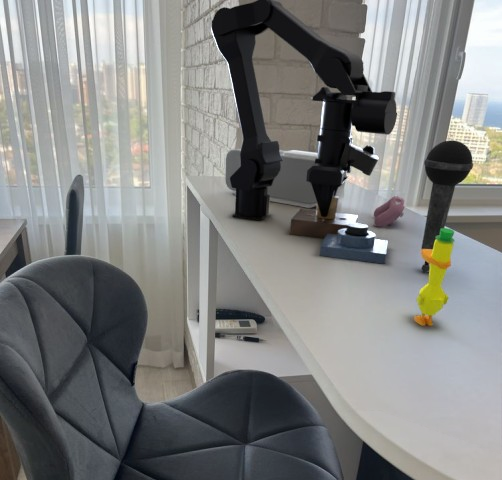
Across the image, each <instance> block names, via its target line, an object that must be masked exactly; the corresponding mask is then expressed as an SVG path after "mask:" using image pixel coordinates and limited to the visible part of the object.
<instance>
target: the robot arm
mask: <svg viewBox="0 0 502 480" xmlns="http://www.w3.org/2000/svg"><path fill="white" fill-rule="evenodd" d="M210 29H211V33H212V36H213V39H214V41H215V45H216V47H217V49H218V51H219V52H220V54H221V55H222V57H223V59H224V60H225V62H226V63H227V67H228V71H229V77H230V80H231V85H232V91H233V95H234V100H235V106H236V110H237V111H236V112H237V116H238V120H239V125H240V130H241V135H242V143H241V148H240V149H241V151H240V165H241V166H240V167H239V168H238V169H237V171H236V172H235V173H234V174H233V175H232V176H231V177H230V182H231V186H232V188H236V195H235V200H234V201H235V202H234V203H235V206H234V213H232V217H233V218H238V219H248V220H256V221H262V220H264V219H265V217H267V216H268V215H269V213H270V212H269V211H270V210H269V209H270V201H269V198H270V196H269V195H268V194H267V190H268V186H272V183H273V181H274V178H275V177H276V176H277V175H278V173H279V171H280V169H281V163H280V162H281V161H283V160H282V158H281V155H280V150H281V149H280V143H279V141H278V140H272V139H270V137H269V135H268V134H267V130H266V125H265V119H264V114H263V109H262V103H261V99H260V98H261V97H260V93H259V88H258V83H257V77H256V72H255V68H254V67H255V66H254V62H253V61H254V60H253V57H254V51H255V47H256V44H257V43H256V42H257V41H256V36H259V35H262V34H263V33H265V32H266V31H268V30H270V31H272V32H273V33H274V34H275V35H277V36H278V37H279V38H281V39H282V40H283V41H284V42H285V43H287V44H288V45H289V46H290V47H291V48H292V49H294V50H295V51H296V52H298V53H299V54H300V55H301V56H302V57H304V58H305V59H306V60H307V61H308V62H309V63H310V65H311V68H312V69H313V71H314V73H315V74H316V75H317V77H318V78H319V79H320V80H321V82H322V83H323V84H324V85H325V86H322V87H321V88H320V89H319V91H317V93H315V94H313V96H312V97H311V100H312V101H313V102H322V107H321V118H320V128H319V134H317V139H316V142H318V146H317V153H318V154H317V158H316V159H315V164H314V165H313V166H312V167H311V168H310V169H308V170H307V178H306V181H307V182H310V183H311V185H312V188H313V191H314V194H315V197H316V200H317V203H318V207H319V210H320V214H321V216H322V217H327V215H328V212H329V208H330V205H331V202H332V198H333V195H335V196H337V192H338V189H339V188H340V187H341V186H343V184H344V183H345V181H346V180H347V179H348V178H349V175H347V174H351V173H352V168H355V170H358V171H360V172H362V174H364V175H365V176H371V175H372V173H373V172H374V169H375V167H376V165H377V163H378V161H379V159H380V157H379V156H378V155H375V147H374V146H372V145H369V144H367V145H365V146H364V147H363V148H361V147H360V146H356V145H354V144H353V142H354V137H353V135H352V129H353V128H352V127H354V129H355V131H356V132H358V133H367V134H375V135H376V134H378V135H386V136H389V135H390V134H392V132H393V130H394V128H395V125H396V122H397V119H398V112H397V102H396V100H395V99H396V92H395V91H388V90H387V91H386V90H385V91H373V90H372V89H371V86H370V84H369V82H368V80H367V78H366V76H365V74H364V69H365V68H364V61H363V59H362V58H361V57H360V56H359V55H358V54H356V53H354V52H353V51H350V50H348V49H346V48H344V47H341V46H339V45H337V44H334V43H332V42H330V41H328V40H326V39H325V38H323V37H322V36H321V35H320V34H319V33H317V32H316V31H314V30H313V28H310V26H308V25H307V24H306V23H305V22H303V21H302V20H300V18H298V17H297V16H295V15H294V13H292V12H291V11H289V10H288V9H287V8H286V7H284V6H283V4H282V2H281V1H278V0H255V1H252V2H249V3H244V4H239V5H235V6H232V7H230V8H229V7H225V6H223V7H220V8H219V9H218V10H217V11H216V12H215V14H214V16H213V18H212V20H211V24H210ZM330 89H337V90H338V91H339V92H338V91H331V90H330ZM348 96H354V97H355V98H354V99H348ZM345 172H346V174H345Z"/></svg>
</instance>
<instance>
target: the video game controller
mask: <svg viewBox="0 0 502 480" xmlns="http://www.w3.org/2000/svg"><path fill="white" fill-rule="evenodd" d="M404 210H405V199H404V198H403V197H401V196H398V195H397V196H395V195H394V196H392V197H391V198H389V199H388V201H386V202H385V203H383V204H382V205H380V206H378V207H377V208H376V209H375V210H374V211H373V217H374V221H373V223H374V226H375V227H378V228H379V227H380V228H381V227H386V226H388V225H389V226H391V225H392V224H393V223H394V222H395V221H397V220H398V219H399V218H401V219H402V218H403V217H404V215H405V212H404Z"/></svg>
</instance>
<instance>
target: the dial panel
mask: <svg viewBox="0 0 502 480" xmlns="http://www.w3.org/2000/svg"><path fill="white" fill-rule="evenodd" d="M358 218H359V215H358V214H351V213H343V212H336V218H334V219H323V218H318V217H316V209H306V208H300V209H299V210H298V211H297V212H296V213H295V214H294V215H293V216H292V218H291V219H290V227H289V228H290V229H289V235H293V236H301V237H310V238H318V239H325V237H326V235H327V233H328V234H337V232H338V230H340V229H344V228H347V224H349V223H358V220H359V219H358Z"/></svg>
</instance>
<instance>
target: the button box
mask: <svg viewBox="0 0 502 480" xmlns="http://www.w3.org/2000/svg"><path fill="white" fill-rule="evenodd" d="M346 230H347V228H344V229H340V230H338V232H337V234H328V233H327V235H326V237H325V238H323V240H322V242H321V244H320V247H319V256H321V257H328V258H335V259H336V258H337V259H343V260H351V261H360V262H367V263H375V264H386V258H387V251H388V243H389V242H388V240H387V239H377V238H376V235H377V234H376V233H374V232H372V231H371V230H368V231H367V236H352V235H348V234H346Z"/></svg>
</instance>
